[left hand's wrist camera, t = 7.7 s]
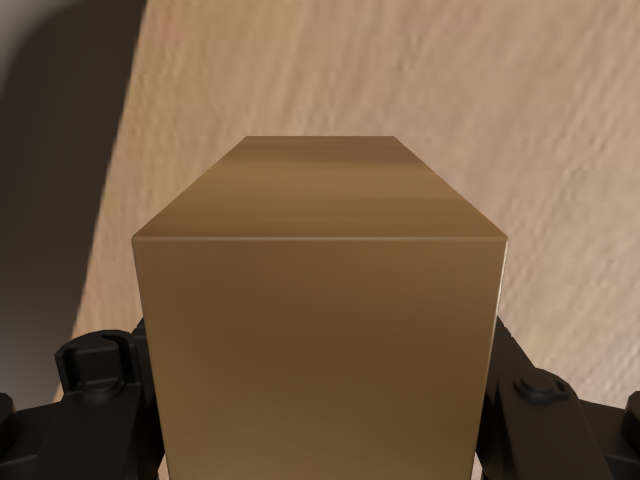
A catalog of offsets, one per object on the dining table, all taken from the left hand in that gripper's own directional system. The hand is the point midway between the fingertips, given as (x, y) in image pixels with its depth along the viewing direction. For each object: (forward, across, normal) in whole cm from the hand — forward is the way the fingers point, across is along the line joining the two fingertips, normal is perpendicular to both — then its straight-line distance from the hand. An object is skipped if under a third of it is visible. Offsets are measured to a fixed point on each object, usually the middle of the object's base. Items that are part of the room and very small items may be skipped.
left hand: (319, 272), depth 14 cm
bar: (+1, 0, -9) cm, 9 cm away
